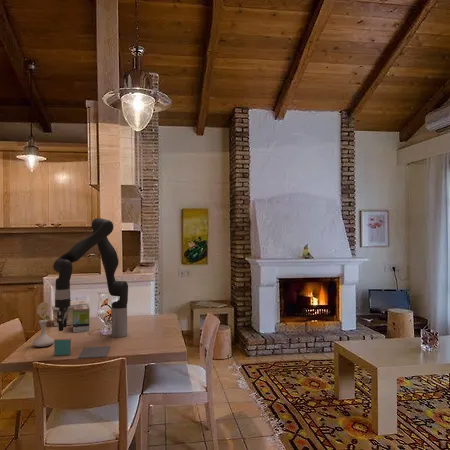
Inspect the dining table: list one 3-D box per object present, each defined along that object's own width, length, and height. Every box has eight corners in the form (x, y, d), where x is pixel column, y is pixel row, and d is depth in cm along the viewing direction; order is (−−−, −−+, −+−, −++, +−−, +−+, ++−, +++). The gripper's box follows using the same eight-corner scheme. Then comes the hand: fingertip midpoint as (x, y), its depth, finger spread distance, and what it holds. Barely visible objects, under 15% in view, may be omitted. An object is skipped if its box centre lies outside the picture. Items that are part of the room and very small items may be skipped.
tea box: (89, 331, 263) (89, 308, 263) (73, 333, 259) (72, 309, 259) (88, 326, 277) (88, 304, 277) (72, 327, 273) (72, 305, 273)
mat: (83, 348, 225) (83, 347, 225) (110, 347, 228) (110, 346, 228) (77, 358, 207) (77, 357, 207) (106, 357, 210) (106, 356, 210)
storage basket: (51, 327, 273) (51, 305, 274) (51, 322, 289) (51, 301, 289) (89, 324, 282) (89, 302, 282) (87, 319, 297) (87, 298, 298)
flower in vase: (29, 345, 232) (28, 301, 232) (49, 341, 240) (49, 298, 240) (37, 350, 223) (37, 303, 223) (58, 346, 231) (58, 301, 231)
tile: (55, 354, 215) (55, 339, 215) (71, 353, 217) (71, 338, 217) (54, 355, 213) (53, 340, 213) (70, 354, 214) (70, 339, 214)
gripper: (58, 295, 221) (58, 326, 221) (51, 300, 207) (51, 332, 207) (72, 295, 223) (72, 325, 222) (67, 299, 209) (67, 331, 208)
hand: (62, 328), depth 215 cm, fingers open, 8 cm apart
